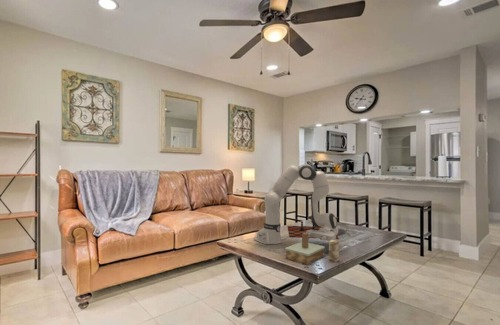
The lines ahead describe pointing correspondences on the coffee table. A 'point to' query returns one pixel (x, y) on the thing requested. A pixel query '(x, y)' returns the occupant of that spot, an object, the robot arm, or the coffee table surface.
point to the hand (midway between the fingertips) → (314, 237)
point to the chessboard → (301, 230)
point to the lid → (305, 247)
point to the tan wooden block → (333, 250)
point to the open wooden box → (304, 257)
